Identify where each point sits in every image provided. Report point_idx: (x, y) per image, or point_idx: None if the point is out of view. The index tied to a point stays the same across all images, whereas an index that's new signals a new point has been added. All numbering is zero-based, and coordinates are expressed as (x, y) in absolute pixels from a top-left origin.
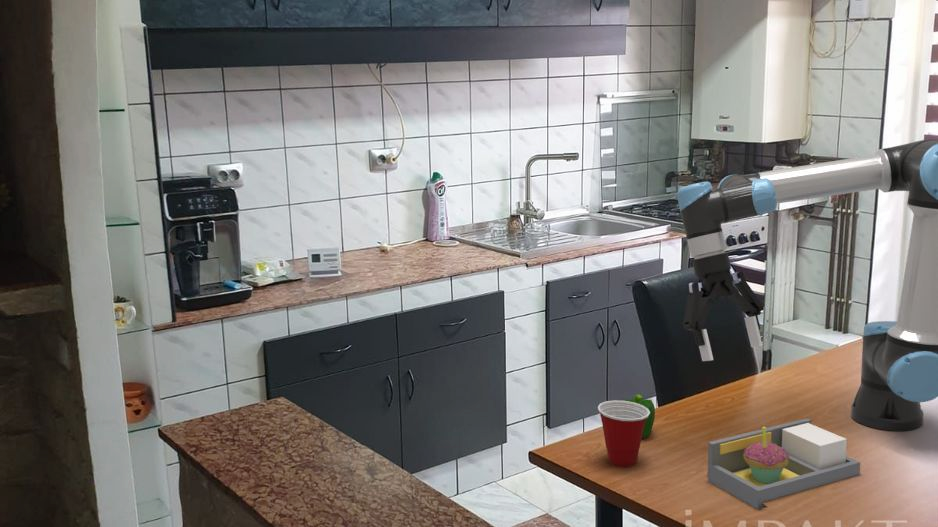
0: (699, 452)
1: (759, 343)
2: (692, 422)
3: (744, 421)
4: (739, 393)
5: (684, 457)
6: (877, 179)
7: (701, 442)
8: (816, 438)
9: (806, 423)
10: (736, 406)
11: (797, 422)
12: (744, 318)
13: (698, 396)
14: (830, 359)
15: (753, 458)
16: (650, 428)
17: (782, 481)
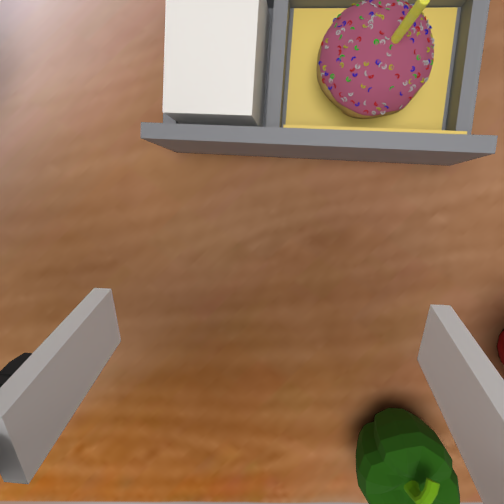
0: (349, 285)
1: (102, 297)
2: (242, 409)
3: (149, 349)
4: (49, 459)
5: (396, 284)
6: None
7: (306, 321)
8: (227, 16)
9: (169, 111)
10: (104, 414)
11: (183, 129)
12: (30, 478)
13: (129, 500)
14: None
15: (433, 44)
16: (388, 413)
17: None
